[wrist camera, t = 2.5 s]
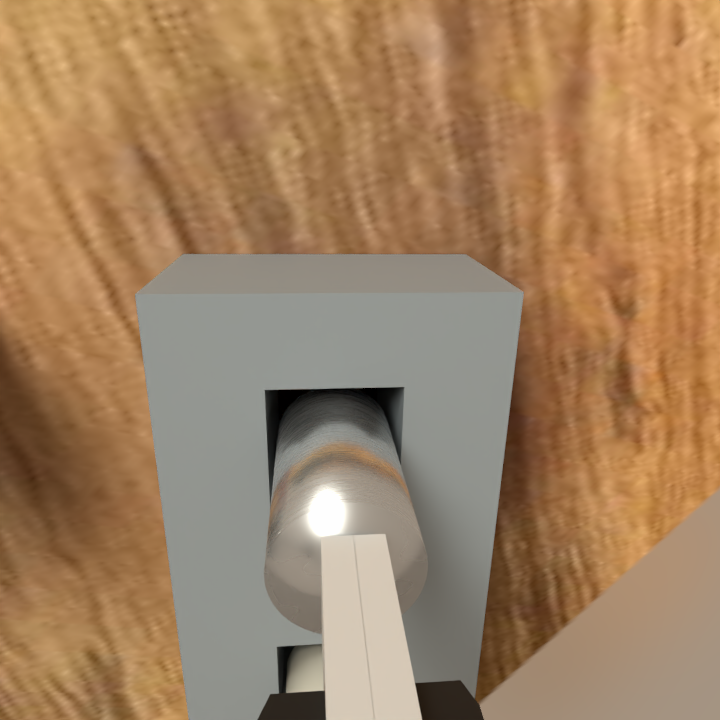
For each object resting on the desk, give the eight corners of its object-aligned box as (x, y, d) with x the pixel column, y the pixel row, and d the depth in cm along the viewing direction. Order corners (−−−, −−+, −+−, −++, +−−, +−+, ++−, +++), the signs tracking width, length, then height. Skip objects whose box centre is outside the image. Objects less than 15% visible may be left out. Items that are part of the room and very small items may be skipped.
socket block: (220, 653, 31) (197, 787, 24) (183, 254, 23) (134, 294, 17) (434, 640, 32) (466, 765, 26) (465, 254, 24) (523, 292, 18)
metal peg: (279, 486, 21) (267, 640, 14) (275, 386, 19) (259, 506, 13) (387, 482, 21) (423, 631, 15) (391, 383, 20) (433, 499, 13)
